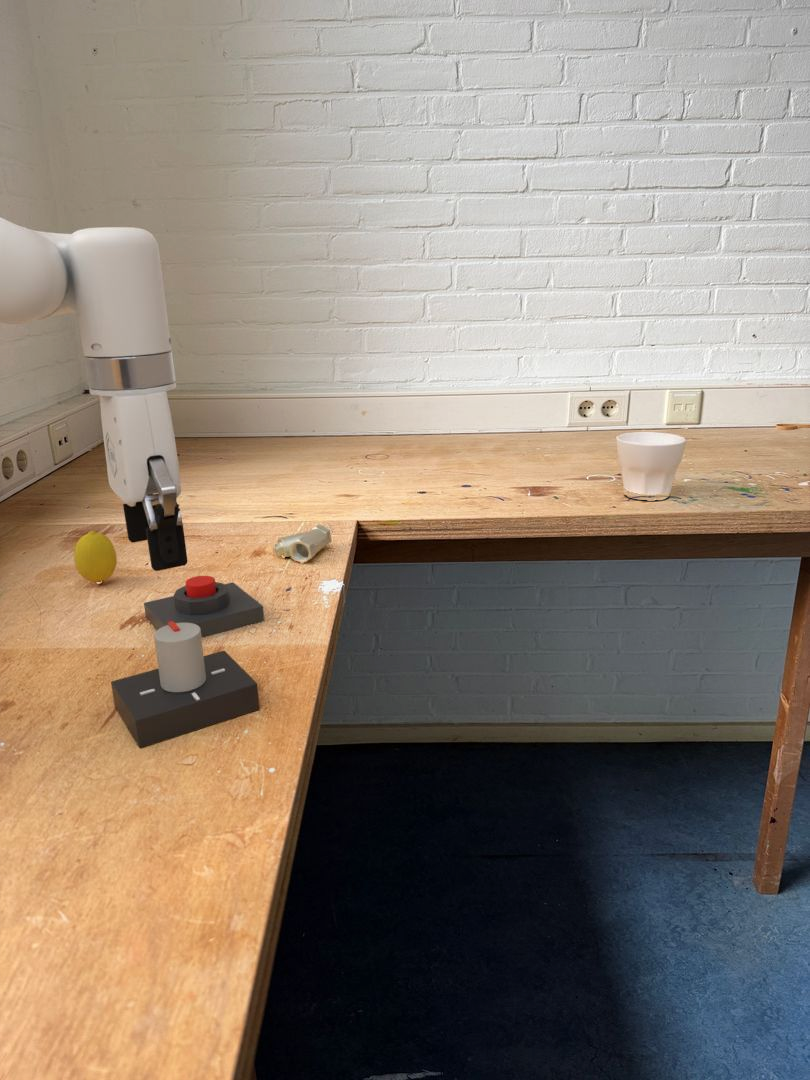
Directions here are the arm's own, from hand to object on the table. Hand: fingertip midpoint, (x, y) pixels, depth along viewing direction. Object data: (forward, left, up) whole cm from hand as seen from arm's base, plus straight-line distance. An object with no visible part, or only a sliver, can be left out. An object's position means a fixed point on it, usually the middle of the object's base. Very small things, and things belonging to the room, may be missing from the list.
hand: (157, 552), depth 78 cm
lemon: (+1, +38, -16) cm, 42 cm away
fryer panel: (0, -3, -16) cm, 16 cm away
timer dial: (0, -3, -13) cm, 13 cm away
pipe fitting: (+30, +32, -16) cm, 47 cm away
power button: (+9, +17, -12) cm, 23 cm away
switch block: (+9, +17, -16) cm, 25 cm away
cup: (+98, +23, -16) cm, 102 cm away
